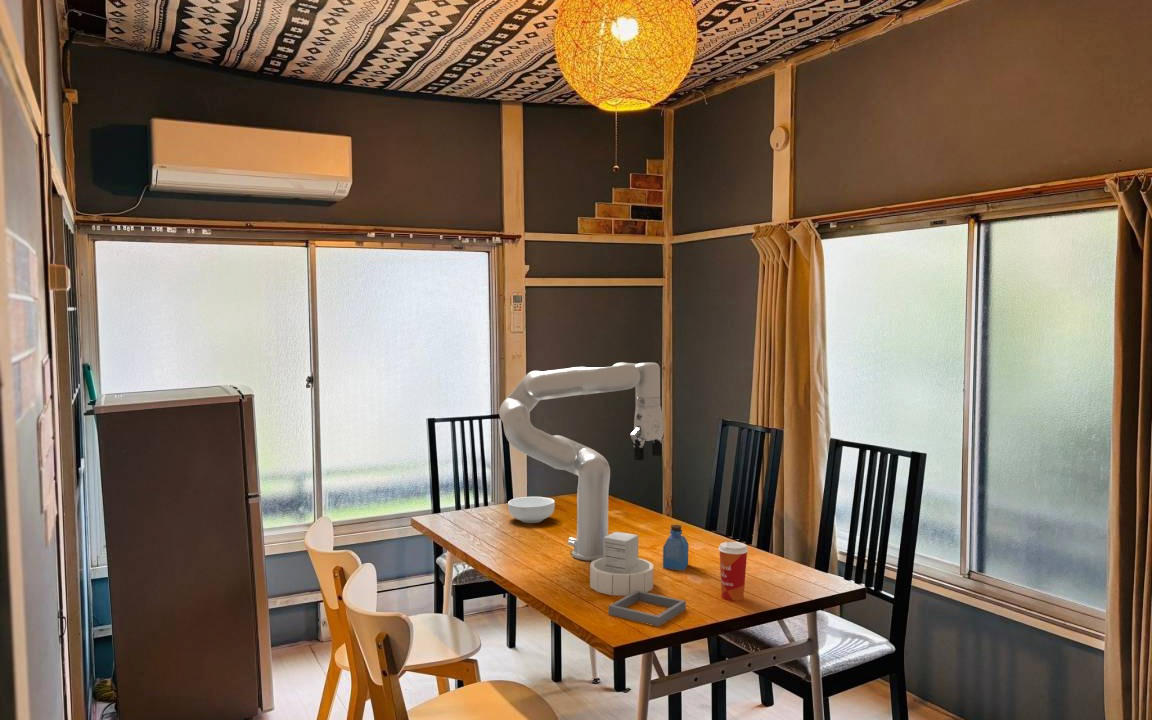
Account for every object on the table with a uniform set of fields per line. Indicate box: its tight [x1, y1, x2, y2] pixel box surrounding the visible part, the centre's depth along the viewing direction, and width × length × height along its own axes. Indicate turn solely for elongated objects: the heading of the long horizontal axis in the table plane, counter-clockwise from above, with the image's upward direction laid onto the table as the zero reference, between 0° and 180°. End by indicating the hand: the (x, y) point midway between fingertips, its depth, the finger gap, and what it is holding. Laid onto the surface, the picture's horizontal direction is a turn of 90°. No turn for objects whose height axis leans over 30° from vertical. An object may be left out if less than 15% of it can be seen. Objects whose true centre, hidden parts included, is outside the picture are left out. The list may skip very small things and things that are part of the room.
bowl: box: [589, 557, 654, 597], centre depth 226 cm, size 17×17×6 cm
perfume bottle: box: [662, 524, 689, 571], centre depth 243 cm, size 6×6×12 cm
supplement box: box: [603, 531, 639, 574], centre depth 225 cm, size 7×7×13 cm
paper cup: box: [718, 541, 749, 602], centre depth 216 cm, size 8×8×14 cm
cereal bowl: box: [507, 496, 556, 524], centre depth 297 cm, size 17×17×7 cm
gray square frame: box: [608, 590, 687, 627], centre depth 205 cm, size 14×14×2 cm
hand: (648, 457), depth 256 cm, fingers open, 9 cm apart
